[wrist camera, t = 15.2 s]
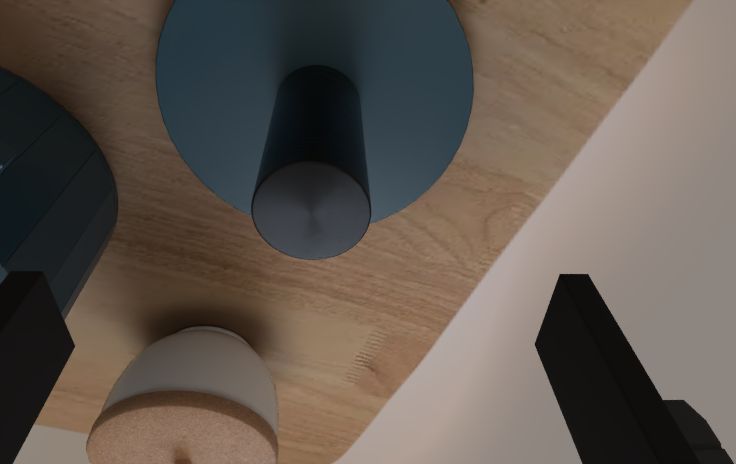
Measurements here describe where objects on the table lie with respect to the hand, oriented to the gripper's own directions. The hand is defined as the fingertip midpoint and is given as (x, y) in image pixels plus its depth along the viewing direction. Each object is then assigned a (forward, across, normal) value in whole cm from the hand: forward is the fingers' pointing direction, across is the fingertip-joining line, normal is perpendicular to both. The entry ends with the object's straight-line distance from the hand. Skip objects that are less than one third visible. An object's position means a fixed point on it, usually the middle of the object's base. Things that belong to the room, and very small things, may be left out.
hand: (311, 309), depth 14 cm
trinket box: (+15, -8, -19) cm, 25 cm away
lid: (+14, 0, 0) cm, 14 cm away
